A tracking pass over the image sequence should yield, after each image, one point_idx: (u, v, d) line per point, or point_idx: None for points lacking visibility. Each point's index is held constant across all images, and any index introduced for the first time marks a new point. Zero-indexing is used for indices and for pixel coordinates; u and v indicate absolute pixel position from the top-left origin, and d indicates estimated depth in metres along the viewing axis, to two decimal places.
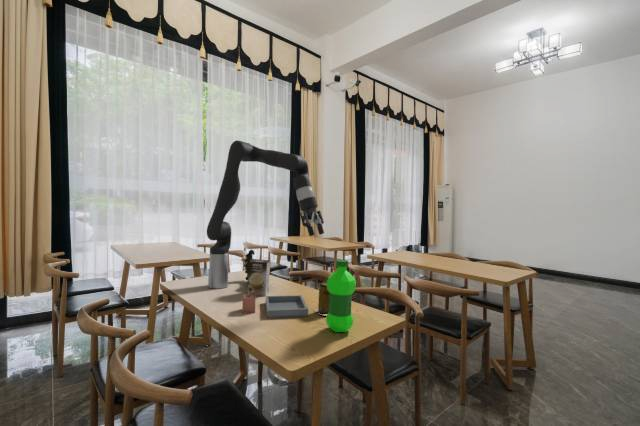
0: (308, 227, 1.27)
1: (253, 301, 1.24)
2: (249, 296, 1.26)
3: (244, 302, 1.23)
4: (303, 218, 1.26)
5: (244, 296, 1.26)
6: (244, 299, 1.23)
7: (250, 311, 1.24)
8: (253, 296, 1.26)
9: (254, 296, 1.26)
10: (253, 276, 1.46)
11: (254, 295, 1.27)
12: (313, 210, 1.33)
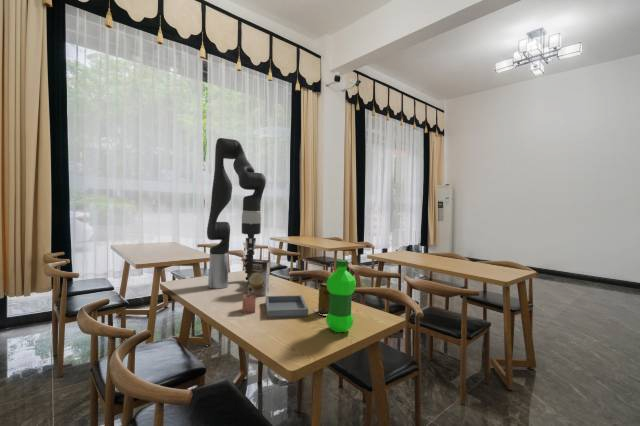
0: (250, 255, 1.20)
1: (253, 301, 1.24)
2: (249, 296, 1.26)
3: (244, 302, 1.23)
4: (250, 245, 1.18)
5: (244, 296, 1.26)
6: (244, 299, 1.23)
7: (250, 311, 1.24)
8: (253, 296, 1.26)
9: (254, 296, 1.26)
10: (253, 276, 1.46)
11: (254, 295, 1.27)
12: None
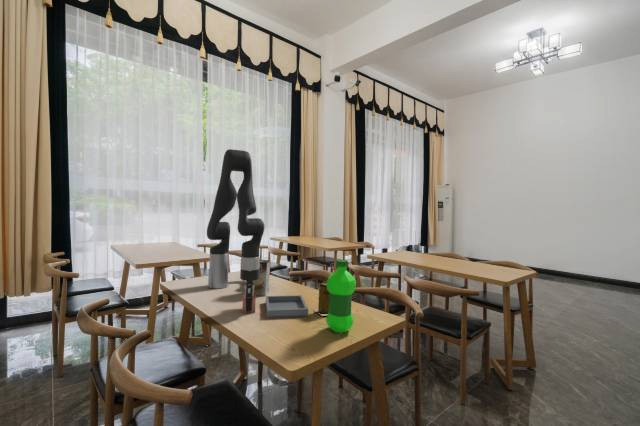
0: (248, 303, 1.22)
1: (253, 301, 1.24)
2: None
3: (244, 302, 1.23)
4: (248, 295, 1.20)
5: (244, 296, 1.26)
6: (244, 299, 1.23)
7: (250, 311, 1.24)
8: (253, 296, 1.26)
9: (254, 296, 1.26)
10: None
11: (254, 295, 1.27)
12: None
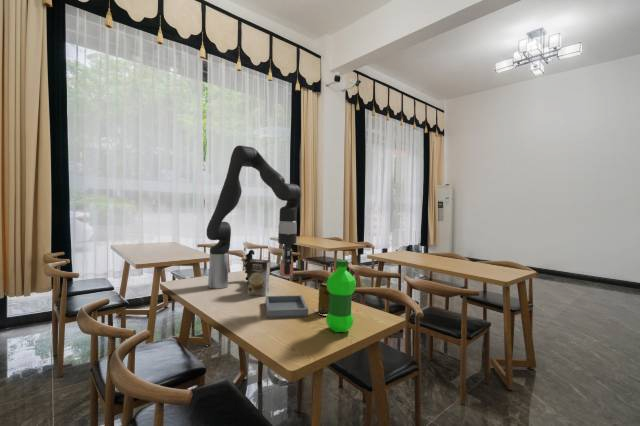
0: (287, 266, 1.25)
1: (291, 265, 1.26)
2: (287, 260, 1.28)
3: (282, 265, 1.25)
4: (288, 258, 1.22)
5: (282, 260, 1.28)
6: (282, 262, 1.25)
7: None
8: None
9: (291, 260, 1.28)
10: (253, 276, 1.46)
11: (291, 260, 1.29)
12: None
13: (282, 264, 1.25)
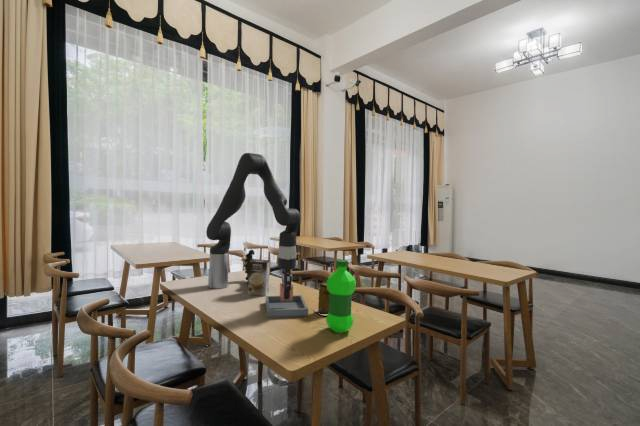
0: (287, 291, 1.25)
1: (291, 289, 1.27)
2: None
3: (282, 290, 1.26)
4: (287, 283, 1.23)
5: (281, 284, 1.28)
6: (282, 287, 1.26)
7: (288, 299, 1.27)
8: None
9: (291, 284, 1.29)
10: (253, 276, 1.46)
11: (291, 284, 1.30)
12: None
13: (282, 289, 1.26)
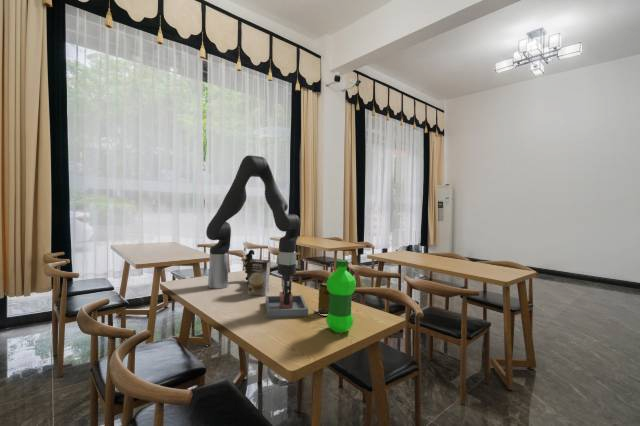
0: (287, 296, 1.24)
1: (290, 298, 1.27)
2: None
3: (282, 299, 1.26)
4: (287, 288, 1.22)
5: (281, 293, 1.29)
6: (282, 296, 1.26)
7: (287, 308, 1.27)
8: None
9: (291, 293, 1.29)
10: (253, 276, 1.46)
11: None
12: None
13: (281, 298, 1.26)
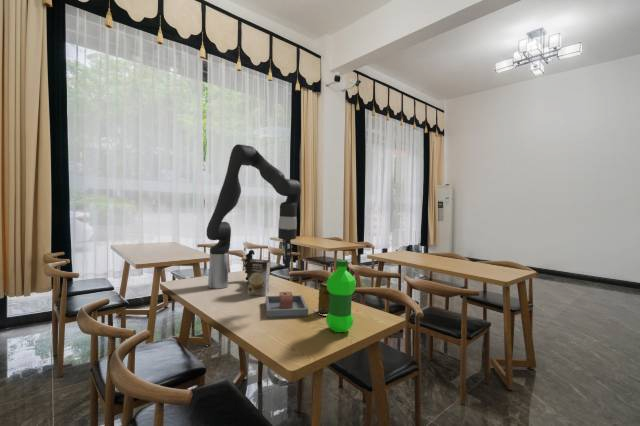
0: (287, 260, 1.24)
1: (290, 298, 1.27)
2: (286, 293, 1.29)
3: (282, 299, 1.26)
4: (288, 250, 1.22)
5: (281, 293, 1.29)
6: (282, 296, 1.26)
7: (287, 308, 1.27)
8: (290, 293, 1.29)
9: (291, 293, 1.29)
10: (253, 276, 1.46)
11: (290, 293, 1.30)
12: None
13: (281, 298, 1.26)
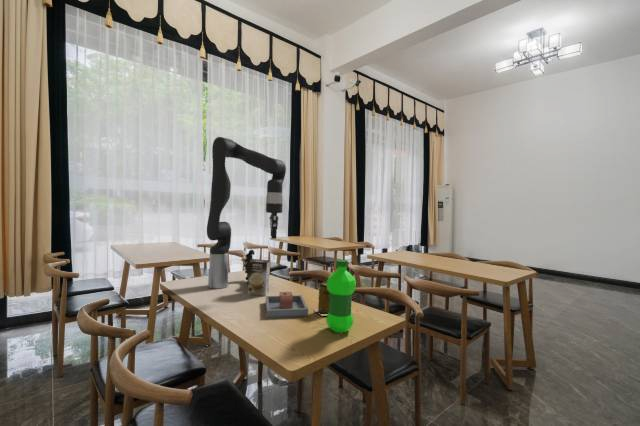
0: (274, 230, 1.38)
1: (290, 298, 1.27)
2: (286, 293, 1.29)
3: (282, 299, 1.26)
4: (274, 222, 1.37)
5: (281, 293, 1.29)
6: (282, 296, 1.26)
7: (287, 308, 1.27)
8: (290, 293, 1.29)
9: (291, 293, 1.29)
10: (253, 276, 1.46)
11: (290, 293, 1.30)
12: None
13: (281, 298, 1.26)
